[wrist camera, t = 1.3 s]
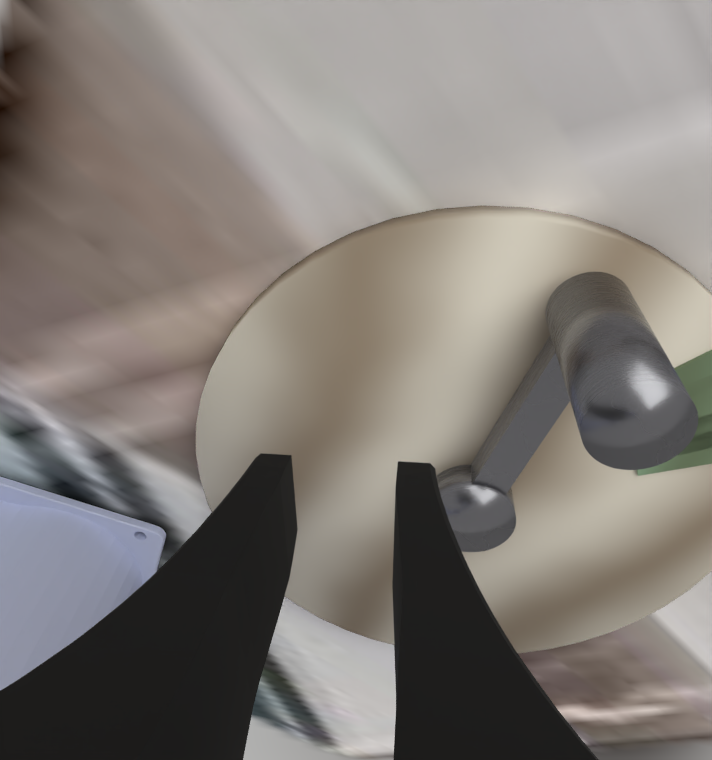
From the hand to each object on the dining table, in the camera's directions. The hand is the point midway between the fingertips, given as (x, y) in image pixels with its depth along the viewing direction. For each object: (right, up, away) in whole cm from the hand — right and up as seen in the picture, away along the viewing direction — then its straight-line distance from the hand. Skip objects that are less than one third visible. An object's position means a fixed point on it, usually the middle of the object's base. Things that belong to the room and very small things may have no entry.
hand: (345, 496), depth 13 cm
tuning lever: (+5, +1, +8) cm, 10 cm away
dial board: (+4, -1, +11) cm, 12 cm away
